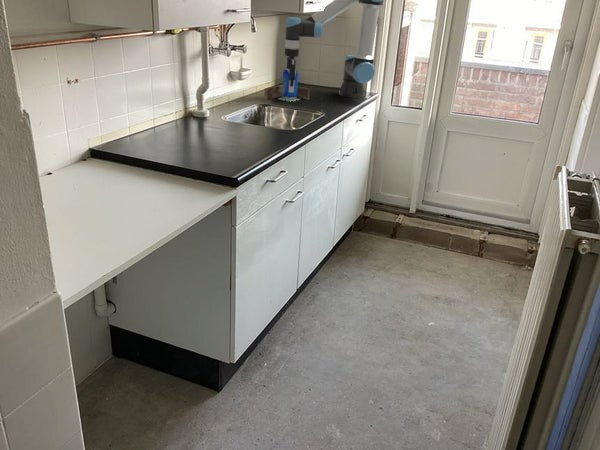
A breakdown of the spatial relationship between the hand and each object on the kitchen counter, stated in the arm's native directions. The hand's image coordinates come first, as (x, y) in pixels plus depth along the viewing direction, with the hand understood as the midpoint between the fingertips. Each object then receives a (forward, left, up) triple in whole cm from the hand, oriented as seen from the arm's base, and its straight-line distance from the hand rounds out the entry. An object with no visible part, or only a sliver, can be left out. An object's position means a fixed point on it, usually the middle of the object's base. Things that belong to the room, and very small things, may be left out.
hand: (289, 90), depth 296 cm
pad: (0, 0, -5) cm, 5 cm away
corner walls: (+1, -1, -5) cm, 5 cm away
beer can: (0, 0, -5) cm, 5 cm away
